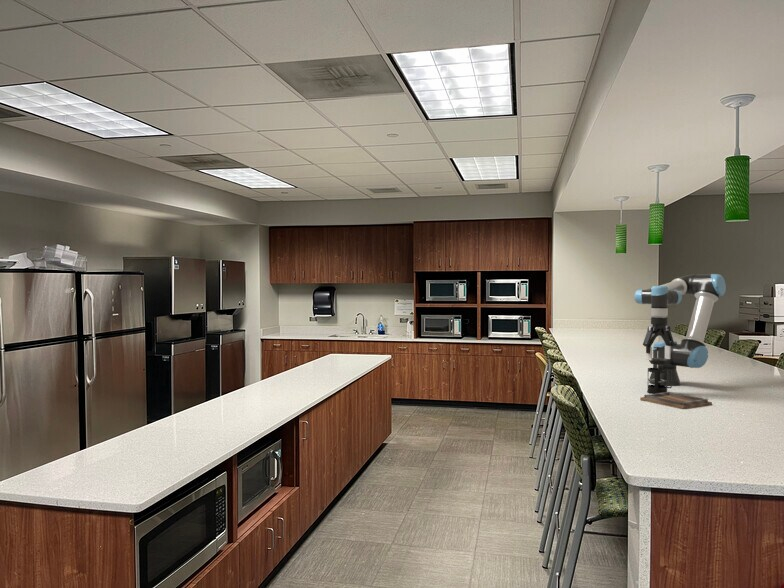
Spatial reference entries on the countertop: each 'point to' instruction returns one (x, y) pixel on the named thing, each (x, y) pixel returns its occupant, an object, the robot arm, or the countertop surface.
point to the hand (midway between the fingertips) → (658, 359)
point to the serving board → (676, 400)
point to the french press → (658, 375)
